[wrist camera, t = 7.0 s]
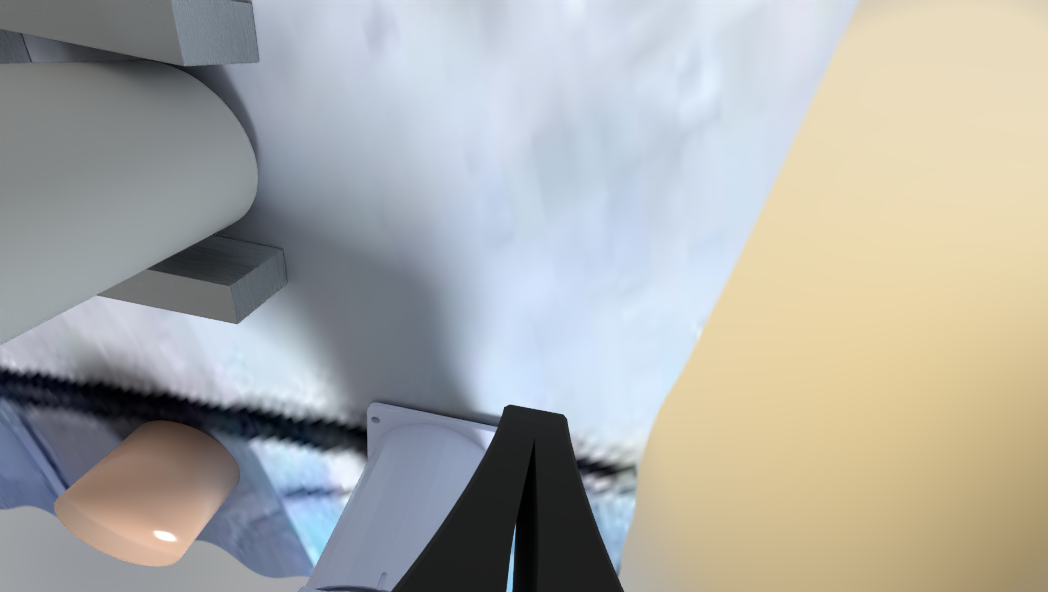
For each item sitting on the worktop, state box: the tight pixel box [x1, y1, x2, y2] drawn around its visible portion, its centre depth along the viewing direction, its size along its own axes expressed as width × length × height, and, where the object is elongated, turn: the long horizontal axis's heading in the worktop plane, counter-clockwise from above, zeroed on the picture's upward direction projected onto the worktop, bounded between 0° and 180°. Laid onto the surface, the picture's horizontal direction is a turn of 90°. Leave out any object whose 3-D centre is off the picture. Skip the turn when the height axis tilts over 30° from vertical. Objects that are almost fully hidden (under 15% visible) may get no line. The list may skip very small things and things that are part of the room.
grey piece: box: [0, 0, 287, 324], centre depth 16 cm, size 11×11×4 cm
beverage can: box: [0, 60, 258, 345], centre depth 12 cm, size 6×6×12 cm
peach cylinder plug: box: [54, 421, 240, 566], centre depth 26 cm, size 7×7×5 cm
